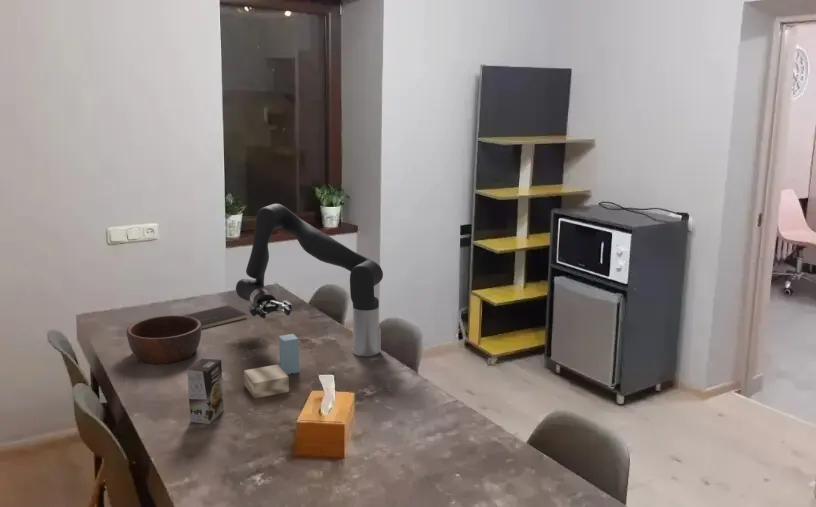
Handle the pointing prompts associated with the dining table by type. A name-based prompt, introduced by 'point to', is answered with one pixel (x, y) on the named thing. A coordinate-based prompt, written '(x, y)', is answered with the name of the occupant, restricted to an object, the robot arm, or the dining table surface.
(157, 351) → the wooden bowl
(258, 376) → the birch block
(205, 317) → the hardcover book
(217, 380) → the coffee box
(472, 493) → the dining table surface
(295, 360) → the blue pillar
